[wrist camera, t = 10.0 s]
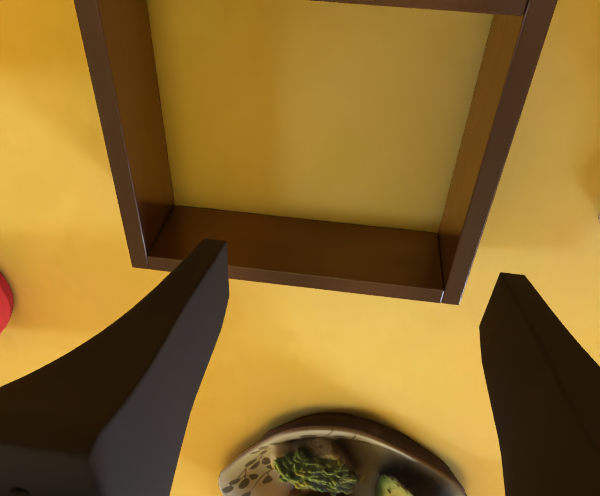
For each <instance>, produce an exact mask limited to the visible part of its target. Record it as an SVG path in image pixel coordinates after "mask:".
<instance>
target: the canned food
mask: <svg viewBox="0 0 600 496" xmlns="http://www.w3.org/2000/svg"><path fill="white" fill-rule="evenodd" d="M13 305H14V299H13V293H12V291H11V288H10V286H9V284H8V283H7V281H6V279H5V278H4V276H3V275H2V274H1V273H0V334H1V332H2V331H3V330H4V328H5V327H6V325H7V323H8V322H9V320H10V316H11V313H12V310H13Z"/></svg>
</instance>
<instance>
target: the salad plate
mask: <svg viewBox="0 0 600 496" xmlns="http://www.w3.org/2000/svg"><path fill="white" fill-rule="evenodd" d="M219 488H220V491H221V492H222V494H223V496H467V495H466V493H465V490H464V488H463V487H462V485H461V484H460V483H459V481H458V480H457V478H456V477H455V476H454V474H453V473H452V471H451V470H450V469H449V467H448V466H447V465H446V464H445V463H444V462H443V461H441V460H440V459H439V458H437V457H436V456H434V455H433V454H432V453H431V452H429V451H428V450H426V449H425V448H423V447H422V446H420V445H419V444H418V443H416V442H415V441H413V440H412V439H410V438H409V437H407V436H406V435H404V434H402V433H400V432H398V431H396V430H394V429H392V428H390V427H388V426H385V425H383V424H381V423H378V422H375V421H372V420H369V419H365V418H361V417H357V416H353V415H348V414H342V413H324V414H317V415H312V416H308V417H305V418H302V419H299V420H296V421H293V422H290V423H287V424H284V425H280V426H278V427H276V428H274V429H272V430H270V431H269V432H267V433H266V434H265V435H264V437H263V438H262V439H261V440H260V441H259V442H257V443H256V444H254V445H253V446H251V447H249V448H248V449H247V450H245V451H243V452H242V453H241V454H239V455H238V456H237V457H236V458H235V460H234V461H232V462H231V463H230V464H229V465H228V466H227V467H226V468H225V469H223V470H222V471H221V473H220V476H219Z"/></svg>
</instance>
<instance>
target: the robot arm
mask: <svg viewBox="0 0 600 496" xmlns="http://www.w3.org/2000/svg"><path fill="white" fill-rule="evenodd" d="M598 219H599V222H600V215H599V217H598ZM228 299H229V281H228V261H227V241H224V240H216V239H207V238H204V239H202V240H201V241H200V242H199V243H198V244H197V245H196V246H195V248H194V249H193V250H192V251H191V252H190V253H189V254H188V255H187V256H186V257H185V258H184V259H183V261H182V262H181V263H180V264H179V265H178V266H177V267H176V268H175V269H174V270H173V271H172V272H171V273H170V274H169V275H168V276H167V277H166V278H165V279H164V280H163V281H162V282H161V283H160V284H159V285H158V286H157V287H155V288H154V289H153V290H152V291H151V292H150V293H149V294H148V295H147V296H145V297H144V298H143V299H142V300H141V301H140V302H139V303H137V304H136V305H135V306H134V307H133V308H132V309H130V310H129V311H128V312H127V313H125V314H124V315H123V316H122V317H120V318H119V319H118V320H117V321H115V322H114V323H113V324H111V325H110V326H108V327H107V328H106V329H104V330H103V331H102V332H100V333H99V334H97V335H96V336H94V337H93V338H91V339H90V340H88V341H87V342H85V343H83V344H82V345H80V346H79V347H77V348H75V349H74V350H72V351H71V352H69V353H67V354H66V355H64V356H62V357H60V358H58V359H57V360H55V361H53V362H51V363H49V364H47V365H45V366H44V367H42V368H40V369H38V370H36V371H34V372H32V373H30V374H28V375H26V376H24V377H22V378H19V379H17V380H15V381H13V382H11V383H8V384H6V385H4V386H2V387H0V496H169V495H170V491H171V486H172V482H173V478H174V474H175V470H176V466H177V462H178V458H179V454H180V450H181V446H182V442H183V438H184V435H185V431H186V427H187V423H188V420H189V416H190V412H191V409H192V406H193V403H194V400H195V397H196V394H197V392H198V389H199V387H200V384H201V381H202V379H203V376H204V373H205V371H206V368H207V366H208V363H209V360H210V358H211V355H212V352H213V350H214V347H215V344H216V342H217V339H218V336H219V334H220V331H221V328H222V324H223V320H224V316H225V312H226V308H227V303H228ZM479 329H480V346H481V357H482V364H483V369H484V374H485V379H486V384H487V389H488V393H489V398H490V402H491V407H492V411H493V416H494V421H495V425H496V430H497V434H498V439H499V445H500V451H501V457H502V467H503V476H504V486H505V496H600V366H599V365H598V364H597V363H596V362H595V361H594V360H593V359H592V358H591V357H590V355H589V354H588V353H587V352H586V351H585V350H584V349H583V348H582V347H581V345H580V344H579V343H578V342H577V341H576V340H575V338H574V337H573V336H572V335H571V334H570V333H569V331H568V330H567V329H566V328H565V326H564V325H563V324H562V323H561V322H560V320H559V319H558V318H557V317H556V315H555V314H554V313H553V311H552V310H551V309H550V308H549V306H548V305H547V304H546V302H545V301H544V300H543V299H542V297H541V296H540V295H539V293H538V292H537V291H536V289H535V288H534V287H533V285H532V284H531V283H530V282H529V280H528V279H527V278H526V277H525V275H519V274H510V273H502V272H500V274H499V277H498V280H497V282H496V285H495V287H494V290H493V292H492V295H491V298H490V300H489V303H488V305H487V308H486V310H485V313H484V315H483V318H482V321H481V323H480V326H479Z"/></svg>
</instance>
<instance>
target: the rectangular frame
mask: <svg viewBox="0 0 600 496" xmlns="http://www.w3.org/2000/svg"><path fill="white" fill-rule="evenodd" d="M311 1H325V2H338V3H352V4H365V5H379V6H392V7H406V8H419V9H432V10H446V11H459V12H473V13H486V14H494V17H493V21H492V25H491V29H490V33H489V36H488V40H487V44H486V48H485V52H484V56H483V60H482V64H481V68H480V72H479V76H478V80H477V83H476V87H475V91H474V95H473V99H472V103H471V107H470V111H469V115H468V119H467V123H466V127H465V130H464V134H463V138H462V142H461V146H460V150H459V154H458V158H457V162H456V166H455V170H454V174H453V177H452V181H451V185H450V189H449V193H448V197H447V201H446V205H445V209H444V213H443V217H442V221H441V224H440V228H439V232H438V234H437V233H428V232H419V231H409V230H400V229H390V228H381V227H372V226H362V225H353V224H344V223H334V222H325V221H315V220H306V219H297V218H287V217H278V216H268V215H259V214H250V213H240V212H231V211H221V210H212V209H203V208H193V207H184V206H174V199H173V192H172V185H171V178H170V170H169V163H168V156H167V149H166V142H165V134H164V127H163V120H162V113H161V106H160V98H159V91H158V84H157V77H156V70H155V63H154V55H153V48H152V41H151V34H150V27H149V19H148V12H147V5H146V0H74V3H75V8H76V12H77V17H78V22H79V26H80V31H81V35H82V40H83V44H84V49H85V53H86V58H87V62H88V67H89V72H90V76H91V81H92V85H93V90H94V94H95V99H96V103H97V108H98V113H99V117H100V122H101V126H102V131H103V135H104V140H105V144H106V149H107V153H108V158H109V163H110V167H111V172H112V176H113V181H114V185H115V190H116V194H117V199H118V204H119V208H120V213H121V217H122V222H123V226H124V231H125V235H126V240H127V244H128V249H129V254H130V258H131V263H132V267H135V268H143V269H152V270H160V271H169V272H172V271H173V270H174V269H175V268H176V267H177V266H178V265H179V264H180V263H181V262H182V261H183V259H184V258H185V257H186V256H187V255H188V254H189V253H190V252H191V251H192V250H193V249H194V248H195V246H196V245H197V244H198V243H199V242H200V241H201V240H202V239H204V238H207V239H216V240H224V241H227V261H228V278H229V279H238V280H246V281H255V282H263V283H272V284H281V285H289V286H298V287H306V288H315V289H324V290H332V291H341V292H349V293H358V294H366V295H375V296H384V297H392V298H401V299H409V300H418V301H427V302H435V303H445V304H454V305H459V304H460V301H461V298H462V295H463V292H464V289H465V286H466V283H467V280H468V277H469V274H470V270H471V267H472V264H473V261H474V258H475V255H476V252H477V249H478V246H479V243H480V239H481V236H482V233H483V230H484V227H485V224H486V221H487V218H488V215H489V212H490V208H491V205H492V202H493V199H494V196H495V193H496V190H497V187H498V184H499V181H500V177H501V174H502V171H503V168H504V165H505V162H506V159H507V156H508V153H509V150H510V146H511V143H512V140H513V137H514V134H515V131H516V128H517V125H518V122H519V119H520V115H521V112H522V109H523V106H524V103H525V100H526V97H527V94H528V91H529V87H530V84H531V81H532V78H533V75H534V72H535V69H536V66H537V63H538V60H539V56H540V53H541V50H542V47H543V44H544V41H545V38H546V35H547V32H548V29H549V25H550V22H551V19H552V16H553V13H554V10H555V7H556V4H557V1H558V0H311Z"/></svg>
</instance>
